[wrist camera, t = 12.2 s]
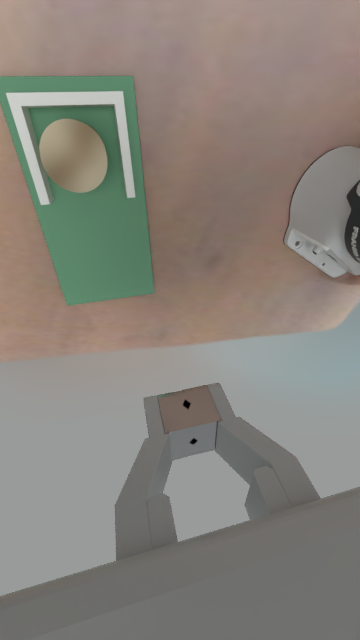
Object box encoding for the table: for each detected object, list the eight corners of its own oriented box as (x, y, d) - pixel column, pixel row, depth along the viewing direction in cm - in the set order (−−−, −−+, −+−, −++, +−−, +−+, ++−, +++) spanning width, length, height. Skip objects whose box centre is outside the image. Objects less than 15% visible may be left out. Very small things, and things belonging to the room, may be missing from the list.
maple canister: (116, 150, 32) (119, 155, 26) (88, 191, 34) (85, 205, 28) (70, 106, 29) (61, 100, 23) (42, 154, 31) (26, 161, 25)
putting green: (154, 291, 45) (157, 302, 42) (67, 303, 43) (64, 316, 40) (132, 76, 29) (135, 71, 27) (-7, 77, 27) (-20, 71, 24)
